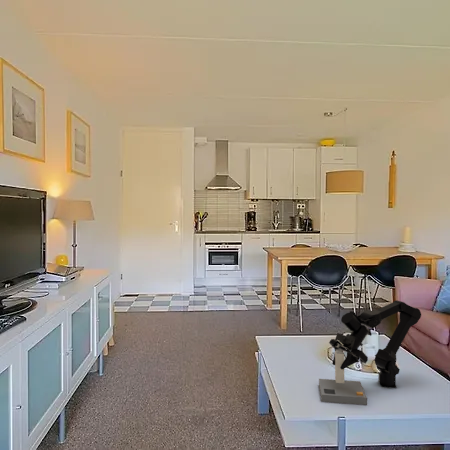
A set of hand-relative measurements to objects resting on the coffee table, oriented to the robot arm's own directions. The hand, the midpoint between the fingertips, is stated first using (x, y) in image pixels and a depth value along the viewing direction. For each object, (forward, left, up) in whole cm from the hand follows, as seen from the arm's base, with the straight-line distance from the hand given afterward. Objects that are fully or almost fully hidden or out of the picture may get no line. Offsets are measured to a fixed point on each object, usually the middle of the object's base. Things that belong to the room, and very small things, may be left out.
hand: (337, 366), depth 169 cm
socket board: (-2, -2, -13) cm, 13 cm away
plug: (-1, -1, -7) cm, 7 cm away
